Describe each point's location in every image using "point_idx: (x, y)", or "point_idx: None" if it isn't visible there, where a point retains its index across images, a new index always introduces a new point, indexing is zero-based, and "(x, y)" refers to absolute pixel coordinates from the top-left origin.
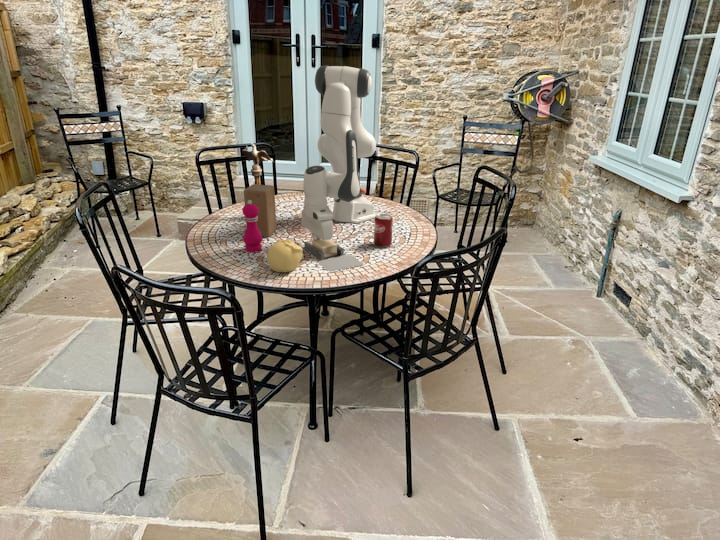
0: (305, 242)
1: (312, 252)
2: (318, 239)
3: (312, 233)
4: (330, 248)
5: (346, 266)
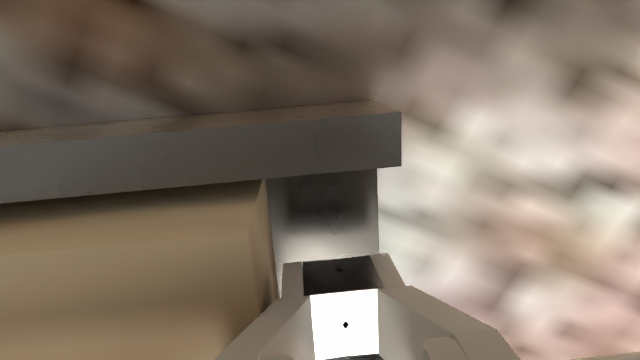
0: (380, 126)
1: (118, 126)
2: None
3: (443, 357)
4: None
5: None
